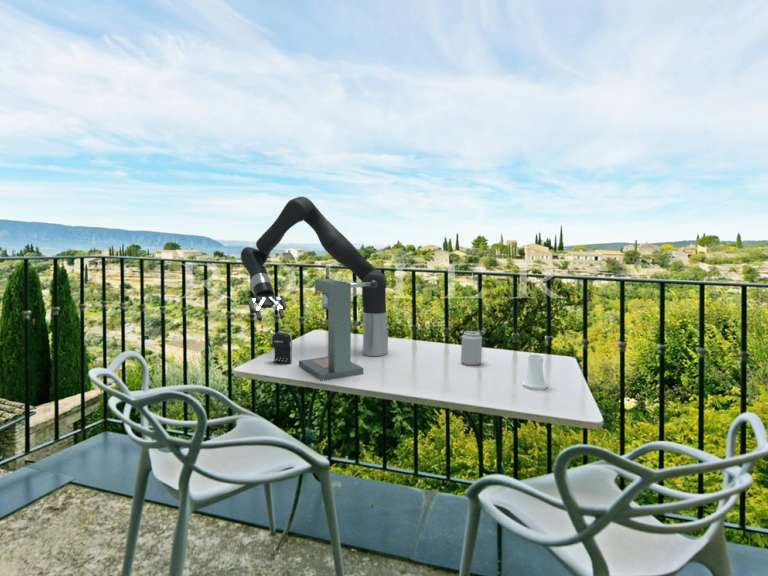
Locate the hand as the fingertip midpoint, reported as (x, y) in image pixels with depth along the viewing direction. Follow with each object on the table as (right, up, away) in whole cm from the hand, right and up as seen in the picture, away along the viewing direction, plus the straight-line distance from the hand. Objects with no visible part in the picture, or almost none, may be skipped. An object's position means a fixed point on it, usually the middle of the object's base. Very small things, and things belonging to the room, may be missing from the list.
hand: (271, 319), depth 191 cm
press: (+29, -17, -13) cm, 36 cm away
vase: (+93, -20, -32) cm, 100 cm away
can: (+77, -17, -6) cm, 79 cm away
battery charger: (+6, -16, -8) cm, 19 cm away
